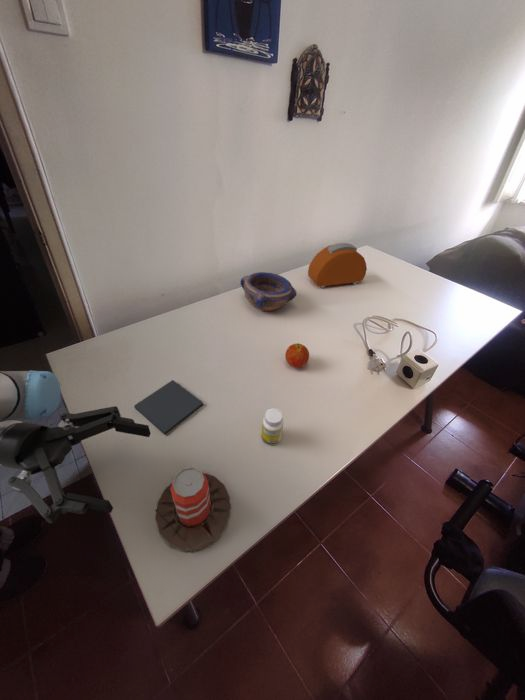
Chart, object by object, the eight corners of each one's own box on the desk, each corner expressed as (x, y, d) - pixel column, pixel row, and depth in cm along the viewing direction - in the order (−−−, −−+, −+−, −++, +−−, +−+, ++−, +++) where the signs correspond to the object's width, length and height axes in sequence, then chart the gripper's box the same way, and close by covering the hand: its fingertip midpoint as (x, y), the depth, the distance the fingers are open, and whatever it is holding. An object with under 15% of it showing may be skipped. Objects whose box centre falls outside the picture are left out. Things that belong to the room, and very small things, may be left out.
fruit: (309, 359, 95) (313, 339, 90) (304, 374, 90) (308, 354, 85) (287, 354, 97) (290, 334, 92) (281, 368, 92) (284, 348, 87)
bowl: (298, 313, 115) (302, 289, 108) (253, 322, 109) (254, 297, 102) (278, 289, 127) (280, 267, 121) (236, 296, 121) (236, 273, 115)
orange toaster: (352, 274, 141) (362, 238, 131) (363, 284, 135) (374, 246, 124) (305, 280, 135) (312, 242, 124) (314, 290, 129) (322, 251, 118)
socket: (191, 570, 53) (189, 567, 52) (142, 515, 59) (140, 511, 58) (244, 507, 61) (244, 502, 60) (197, 464, 67) (196, 460, 66)
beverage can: (189, 490, 63) (182, 458, 55) (216, 503, 61) (214, 473, 54) (171, 519, 59) (161, 489, 51) (200, 534, 57) (194, 506, 49)
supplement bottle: (268, 425, 76) (271, 403, 71) (284, 435, 74) (288, 413, 69) (257, 438, 73) (258, 416, 68) (273, 449, 71) (276, 427, 66)
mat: (165, 435, 72) (164, 432, 72) (134, 408, 78) (133, 405, 77) (203, 405, 80) (203, 402, 79) (173, 382, 85) (172, 379, 85)
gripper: (67, 402, 66) (163, 418, 64) (-37, 529, 47) (96, 557, 45) (53, 377, 61) (157, 394, 59) (-69, 508, 42) (79, 539, 40)
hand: (131, 465), depth 52 cm, fingers open, 13 cm apart
